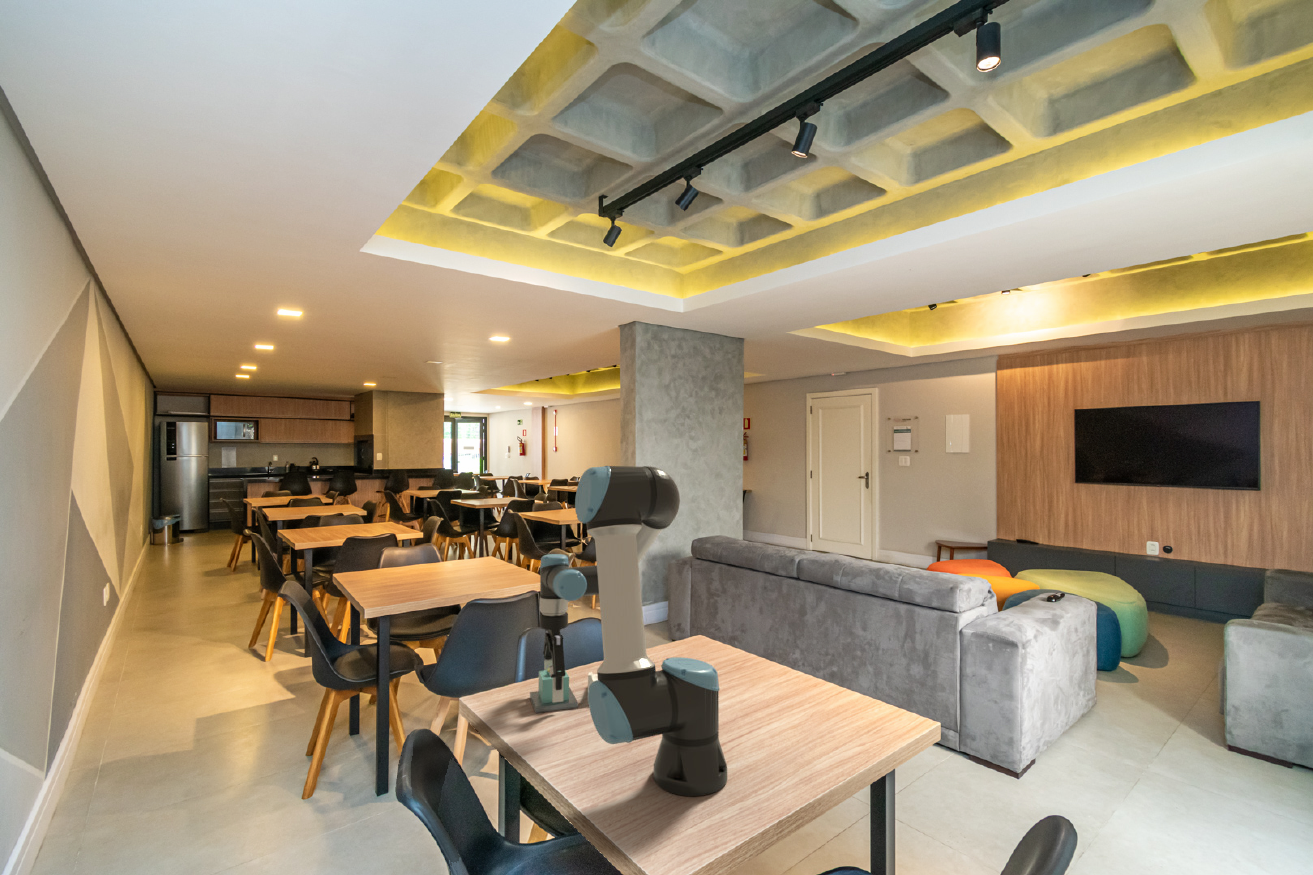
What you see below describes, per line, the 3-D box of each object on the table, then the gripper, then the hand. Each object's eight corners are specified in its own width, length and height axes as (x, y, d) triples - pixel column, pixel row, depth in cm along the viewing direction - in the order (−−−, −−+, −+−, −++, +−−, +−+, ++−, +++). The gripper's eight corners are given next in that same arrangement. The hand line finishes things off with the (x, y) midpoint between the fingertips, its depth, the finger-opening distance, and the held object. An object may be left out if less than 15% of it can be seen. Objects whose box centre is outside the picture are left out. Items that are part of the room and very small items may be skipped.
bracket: (614, 703, 163) (614, 675, 163) (587, 703, 163) (587, 675, 164) (617, 686, 176) (618, 659, 176) (593, 686, 176) (593, 659, 177)
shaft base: (577, 707, 160) (577, 670, 160) (535, 713, 156) (535, 675, 157) (569, 692, 170) (569, 658, 171) (529, 697, 167) (530, 662, 167)
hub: (542, 703, 159) (542, 677, 159) (538, 693, 166) (538, 668, 166) (568, 699, 161) (569, 674, 161) (563, 690, 168) (564, 666, 168)
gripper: (577, 622, 154) (576, 707, 153) (559, 601, 177) (558, 675, 176) (547, 625, 151) (546, 711, 150) (533, 603, 175) (532, 678, 174)
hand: (553, 692), depth 163 cm, fingers open, 13 cm apart
